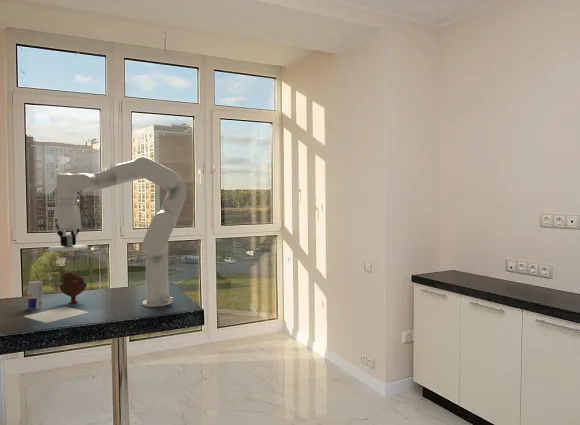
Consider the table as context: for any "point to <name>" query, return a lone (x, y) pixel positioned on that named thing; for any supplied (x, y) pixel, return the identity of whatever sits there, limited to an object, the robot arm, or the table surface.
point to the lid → (68, 246)
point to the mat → (55, 314)
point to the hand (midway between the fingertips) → (68, 245)
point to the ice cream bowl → (72, 285)
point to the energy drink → (35, 295)
